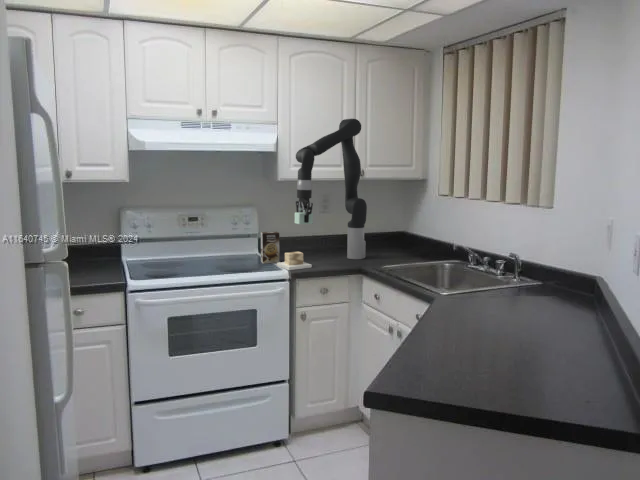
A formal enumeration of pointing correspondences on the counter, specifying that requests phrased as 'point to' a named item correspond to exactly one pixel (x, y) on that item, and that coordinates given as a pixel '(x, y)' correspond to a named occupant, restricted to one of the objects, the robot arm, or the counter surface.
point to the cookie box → (269, 247)
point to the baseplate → (294, 266)
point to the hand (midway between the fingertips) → (303, 221)
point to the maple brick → (293, 258)
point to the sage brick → (302, 218)
